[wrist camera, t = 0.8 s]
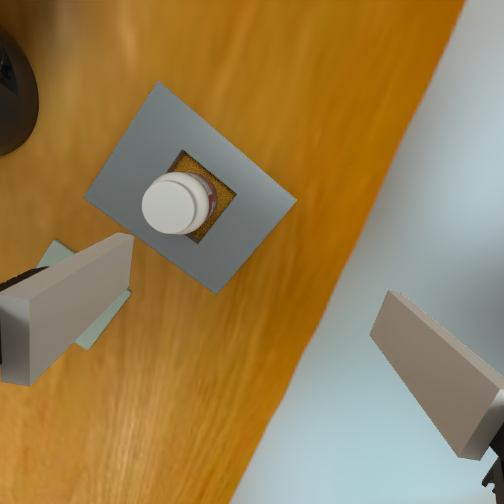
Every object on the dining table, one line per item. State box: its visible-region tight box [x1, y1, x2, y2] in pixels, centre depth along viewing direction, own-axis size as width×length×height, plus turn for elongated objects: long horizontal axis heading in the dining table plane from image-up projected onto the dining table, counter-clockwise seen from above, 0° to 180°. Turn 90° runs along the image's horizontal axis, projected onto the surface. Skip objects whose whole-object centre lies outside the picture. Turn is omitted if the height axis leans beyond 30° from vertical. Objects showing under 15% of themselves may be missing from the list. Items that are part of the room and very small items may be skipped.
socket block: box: [84, 81, 297, 295], centre depth 34 cm, size 20×16×2 cm
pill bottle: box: [142, 172, 217, 235], centre depth 29 cm, size 6×6×11 cm
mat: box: [35, 239, 132, 350], centre depth 38 cm, size 12×12×1 cm
